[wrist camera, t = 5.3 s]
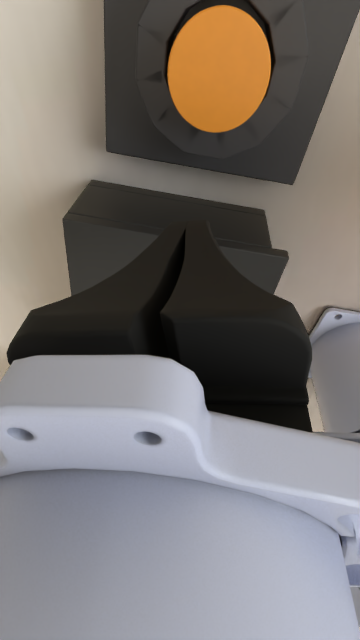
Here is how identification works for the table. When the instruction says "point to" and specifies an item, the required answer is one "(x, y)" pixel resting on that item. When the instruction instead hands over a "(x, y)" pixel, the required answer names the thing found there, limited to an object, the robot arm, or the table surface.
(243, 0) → the orange push button box
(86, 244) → the lid
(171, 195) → the dark grey lipped box
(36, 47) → the table surface
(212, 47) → the button
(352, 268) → the table surface
